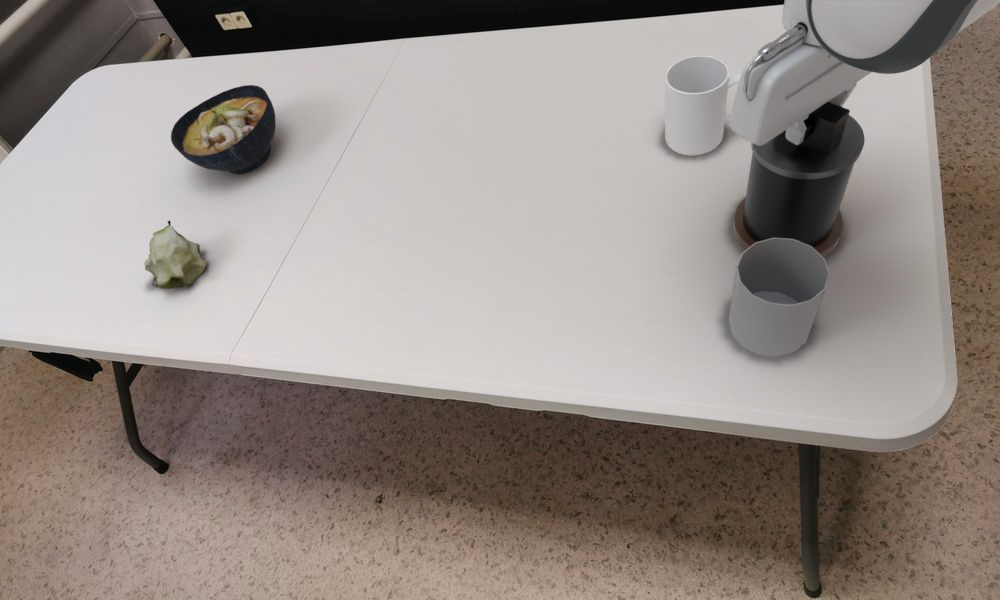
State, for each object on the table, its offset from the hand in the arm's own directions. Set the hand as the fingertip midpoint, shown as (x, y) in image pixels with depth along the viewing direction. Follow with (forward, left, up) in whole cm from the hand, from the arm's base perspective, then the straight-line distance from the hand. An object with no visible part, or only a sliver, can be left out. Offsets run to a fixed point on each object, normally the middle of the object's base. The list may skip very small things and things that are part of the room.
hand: (811, 128), depth 63 cm
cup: (-1, +14, -16) cm, 21 cm away
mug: (+13, -14, -16) cm, 25 cm away
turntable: (0, 0, -16) cm, 16 cm away
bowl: (+87, +7, -16) cm, 89 cm away
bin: (0, 0, -14) cm, 14 cm away
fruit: (+80, +31, -16) cm, 88 cm away
